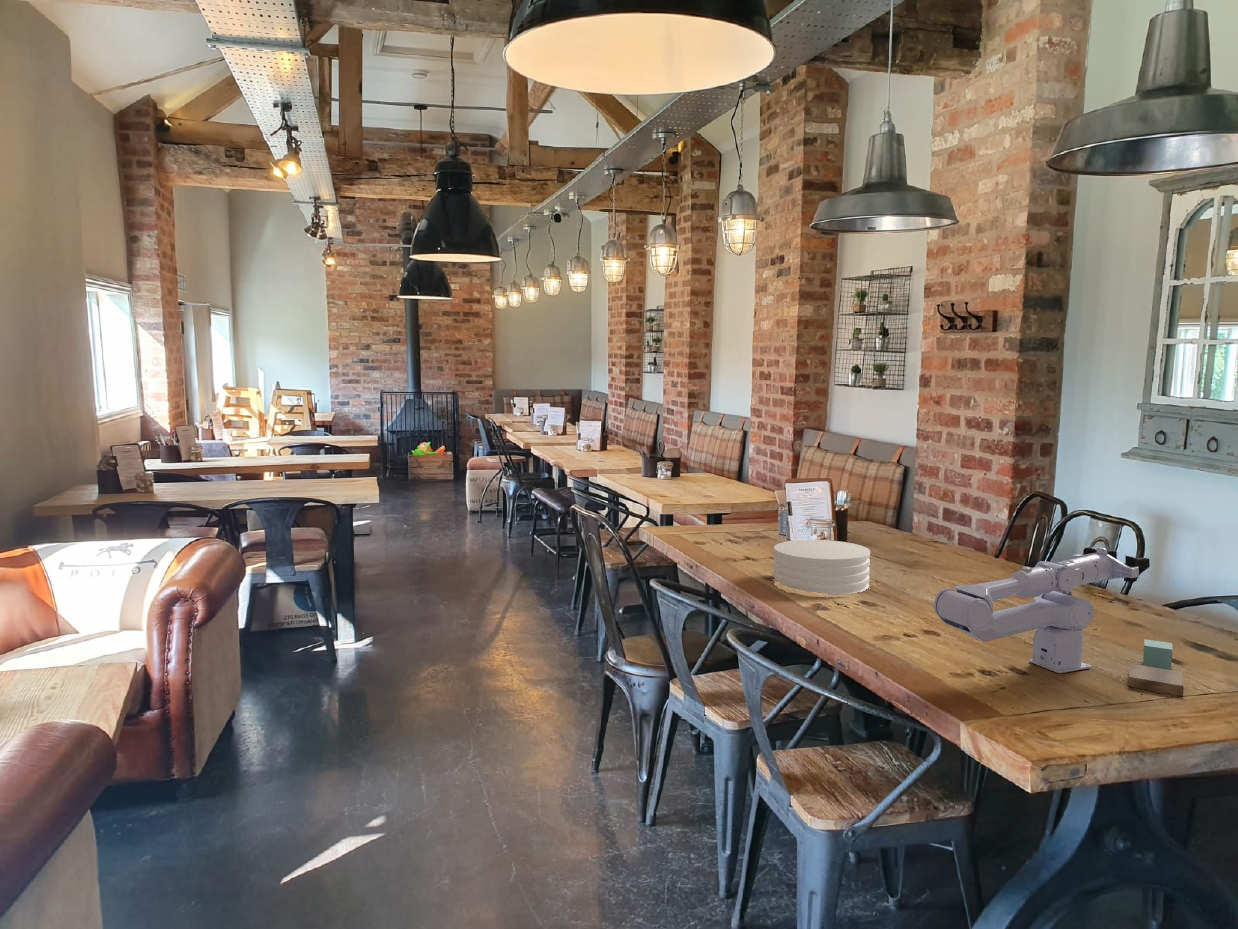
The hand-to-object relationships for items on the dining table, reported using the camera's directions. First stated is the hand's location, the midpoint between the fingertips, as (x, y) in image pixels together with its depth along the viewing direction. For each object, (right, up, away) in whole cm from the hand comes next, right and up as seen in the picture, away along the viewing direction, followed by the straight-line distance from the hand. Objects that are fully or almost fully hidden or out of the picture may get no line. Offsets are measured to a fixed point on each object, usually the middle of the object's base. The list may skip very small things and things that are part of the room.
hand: (1131, 559), depth 180 cm
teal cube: (+2, -23, -6) cm, 23 cm away
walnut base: (-5, -24, -16) cm, 29 cm away
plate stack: (-53, -16, +64) cm, 85 cm away
